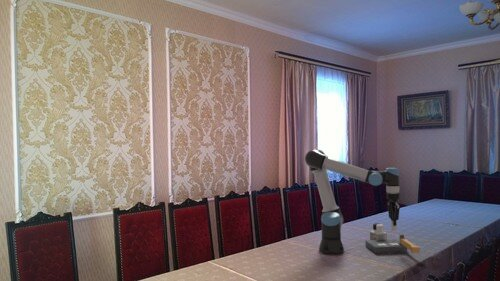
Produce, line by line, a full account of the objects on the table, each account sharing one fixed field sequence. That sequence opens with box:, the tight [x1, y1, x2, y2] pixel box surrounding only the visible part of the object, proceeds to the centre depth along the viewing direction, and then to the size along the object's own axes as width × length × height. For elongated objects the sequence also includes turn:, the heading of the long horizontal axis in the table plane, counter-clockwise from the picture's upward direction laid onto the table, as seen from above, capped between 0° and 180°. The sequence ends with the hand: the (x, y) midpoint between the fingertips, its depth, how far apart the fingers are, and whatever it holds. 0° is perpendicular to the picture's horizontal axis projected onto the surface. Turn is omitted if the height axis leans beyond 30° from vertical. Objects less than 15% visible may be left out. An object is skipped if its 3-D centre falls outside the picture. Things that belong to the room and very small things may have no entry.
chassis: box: [365, 238, 408, 255], centre depth 217 cm, size 21×15×4 cm
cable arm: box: [399, 233, 421, 254], centre depth 206 cm, size 21×4×5 cm, turn 178°
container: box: [369, 222, 388, 240], centre depth 231 cm, size 8×8×13 cm
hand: (393, 230), depth 214 cm, fingers closed
